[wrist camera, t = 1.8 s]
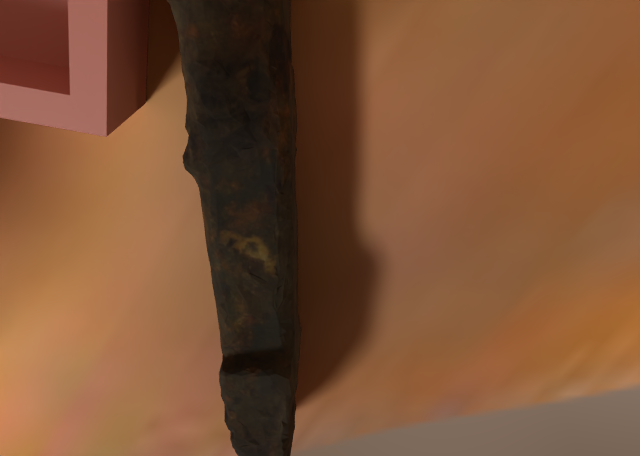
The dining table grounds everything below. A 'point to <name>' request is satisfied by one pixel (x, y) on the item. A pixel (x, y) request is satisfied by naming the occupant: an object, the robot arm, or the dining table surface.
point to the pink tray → (73, 62)
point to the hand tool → (247, 204)
